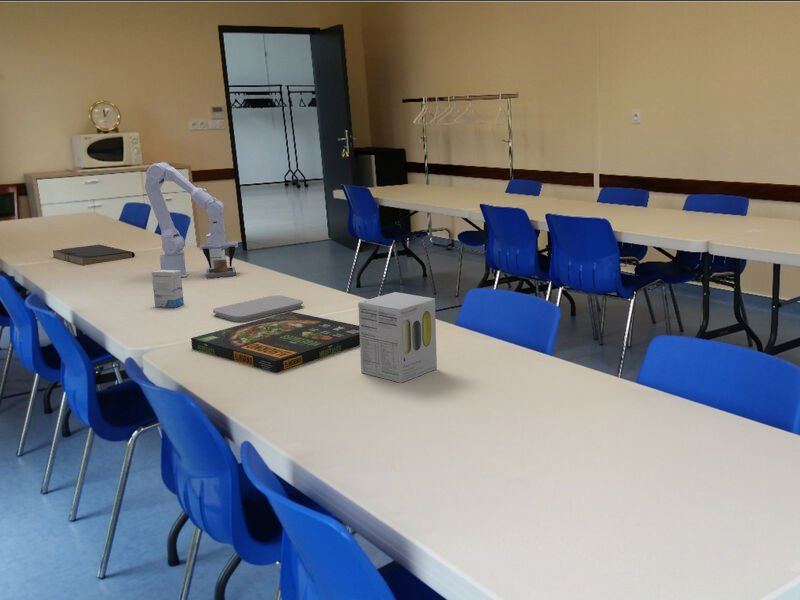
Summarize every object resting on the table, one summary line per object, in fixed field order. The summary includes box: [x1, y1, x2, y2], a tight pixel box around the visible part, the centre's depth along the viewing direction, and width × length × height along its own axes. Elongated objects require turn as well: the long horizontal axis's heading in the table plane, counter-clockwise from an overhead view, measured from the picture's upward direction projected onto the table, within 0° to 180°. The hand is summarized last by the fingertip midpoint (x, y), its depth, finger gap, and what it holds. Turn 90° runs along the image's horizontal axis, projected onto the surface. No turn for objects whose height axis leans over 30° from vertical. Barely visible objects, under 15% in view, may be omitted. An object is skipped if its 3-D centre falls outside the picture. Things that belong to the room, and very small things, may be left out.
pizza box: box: [190, 311, 360, 374], centre depth 220 cm, size 35×35×4 cm
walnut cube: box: [213, 259, 228, 273], centre depth 317 cm, size 5×5×5 cm
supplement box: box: [357, 291, 438, 384], centre depth 192 cm, size 13×13×18 cm
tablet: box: [212, 294, 303, 323], centre depth 258 cm, size 16×26×2 cm, turn 135°
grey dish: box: [206, 266, 237, 279], centre depth 318 cm, size 11×11×2 cm
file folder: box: [52, 244, 136, 266], centre depth 369 cm, size 33×4×24 cm
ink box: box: [151, 269, 185, 308], centre depth 268 cm, size 9×5×12 cm, turn 71°
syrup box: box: [205, 232, 227, 269], centre depth 331 cm, size 6×6×14 cm
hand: (220, 266), depth 317 cm, fingers open, 7 cm apart
